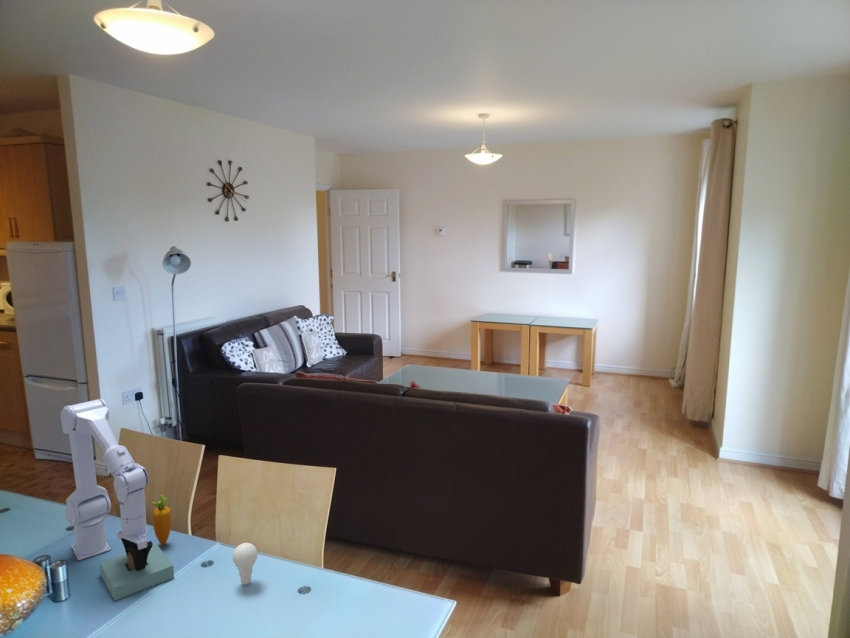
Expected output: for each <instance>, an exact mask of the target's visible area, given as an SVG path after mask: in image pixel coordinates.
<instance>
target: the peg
mask: <svg viewBox="0 0 850 638" xmlns="http://www.w3.org/2000/svg"><path fill="white" fill-rule="evenodd" d="M128 569H129V572H130V571H132V570H135V566H134V562H133V558H132V556H131V554H130V552H128Z"/></svg>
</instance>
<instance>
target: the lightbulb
mask: <svg viewBox="0 0 850 638" xmlns="http://www.w3.org/2000/svg"><path fill="white" fill-rule="evenodd" d="M257 559H258V550H257V547H256V546H255V545H254V544H252V543H251V542H250V543H249V542H244V543H243V542H242V543H241V544H239V545H237V546H236V548H235V549H234V550H233V552H232V562H233V564H234V565H235V567H236V568H237V570H238V574H239V575H238V576H239V578H240V583H241V584H242V585H248V584H250V583H251V582H252V574H253V567H254V565H255V563H256V561H257Z"/></svg>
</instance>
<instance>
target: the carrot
mask: <svg viewBox="0 0 850 638" xmlns="http://www.w3.org/2000/svg"><path fill="white" fill-rule="evenodd" d="M164 496H165V495H163V494H160V495H159V501H158V502H156V501H152V502H151V504H152V505H154V506H155V507H157V508H155V509H154V510H153V513H152V514H151V517H152V526H153V530H154V535H155V538H156V539H157V541H158V543H160V545H161V546H162V547H164V546H165V545H166V544H167V541H168V539H169V536H170V534H171V530H172V529H171V528H172V509H171V508H170V507H168V506H165V505H166V502H167V498H166V497H164Z"/></svg>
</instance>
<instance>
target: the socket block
mask: <svg viewBox="0 0 850 638" xmlns="http://www.w3.org/2000/svg"><path fill="white" fill-rule="evenodd" d="M99 570H100V571H99V572H100V573H99V575H100V577H101V578H102V580H103V582H104V584H105V586H106V588H107V590H108V592H109V593H111V594H110V595H111V597H112V599H113V601H114V602H115V600H116V601H118V600H121V599H124V598H126V597H128V595H129V596H132V595H133V593H134V594H136V593H139V592H141V591H144V590H146V589H145V588H147V587H149V588H151V587H150V586H152V585H154V586H156V585H155V584H157V585H159V584H161V583H164V581H165V582H167V581H169V580H172V579H175V577H174V576H175V573H174V571H175V569H174V565H173V563H172V562H171V561H170V559H169V558H168V557H167V555H166V554H165V552H164V551H163V550H162V549H161V548H160V546H159V545H158V544H157V543H155V544H154V543H153V546H152V548H151V550H150V552H149V554H148V558H147V563H146V567H145V569H142V570H139V571H136V569H135V570H132V571H130V572H129V569H128V557H127V555H126V553H125V554H122V555H118V556H117V557H116V556H115V557H113V558H110V559H107V560H105V561H102V562H99ZM152 587H153V586H152ZM143 589H144V590H143ZM147 589H148V588H147ZM140 590H141V591H140ZM138 591H139V592H138ZM135 592H136V593H135ZM123 597H124V598H123Z"/></svg>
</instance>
